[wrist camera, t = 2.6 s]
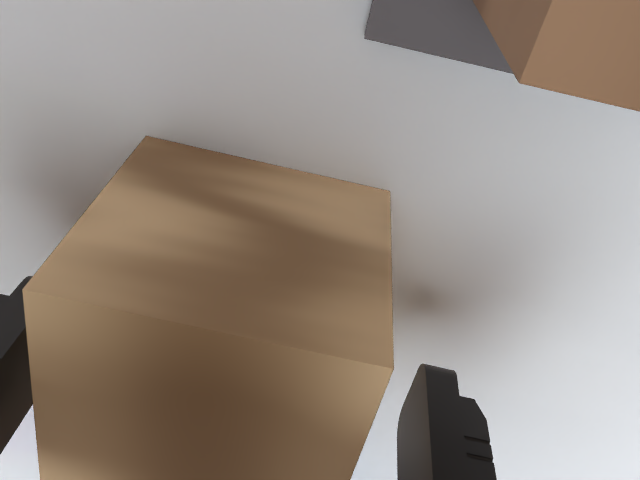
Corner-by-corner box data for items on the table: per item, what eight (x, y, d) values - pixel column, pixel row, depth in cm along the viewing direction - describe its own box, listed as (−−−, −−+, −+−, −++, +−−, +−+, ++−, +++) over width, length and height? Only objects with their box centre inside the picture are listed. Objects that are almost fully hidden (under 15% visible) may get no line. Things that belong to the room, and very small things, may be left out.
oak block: (138, 318, 18) (42, 504, 13) (146, 134, 14) (22, 289, 9) (336, 360, 18) (318, 559, 13) (390, 189, 15) (393, 369, 10)
